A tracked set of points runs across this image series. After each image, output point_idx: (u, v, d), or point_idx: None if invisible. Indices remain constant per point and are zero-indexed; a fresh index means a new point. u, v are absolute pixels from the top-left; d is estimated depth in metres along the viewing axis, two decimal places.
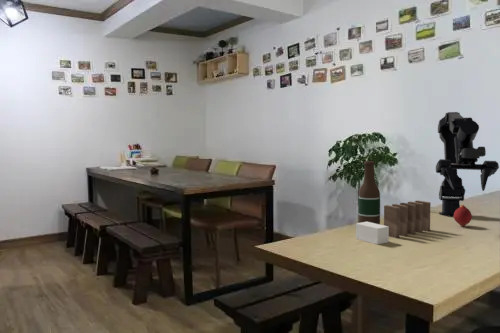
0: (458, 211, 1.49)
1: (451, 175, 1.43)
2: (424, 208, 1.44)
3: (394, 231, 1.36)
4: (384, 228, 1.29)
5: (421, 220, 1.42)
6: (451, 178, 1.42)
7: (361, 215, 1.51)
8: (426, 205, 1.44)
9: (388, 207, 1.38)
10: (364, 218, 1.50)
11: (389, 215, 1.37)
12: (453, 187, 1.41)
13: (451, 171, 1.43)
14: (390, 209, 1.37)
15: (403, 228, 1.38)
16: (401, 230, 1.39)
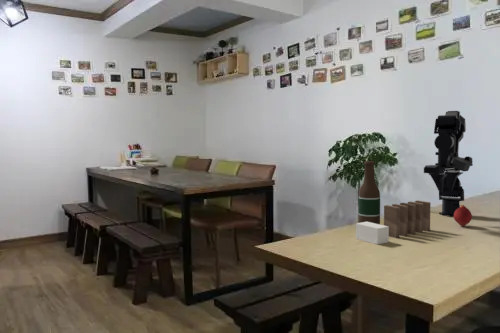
0: (458, 211, 1.49)
1: (443, 180, 1.51)
2: (424, 208, 1.44)
3: (394, 231, 1.36)
4: (384, 228, 1.29)
5: (421, 220, 1.42)
6: (442, 183, 1.51)
7: (361, 215, 1.51)
8: (426, 205, 1.44)
9: (388, 207, 1.38)
10: (364, 218, 1.50)
11: (389, 215, 1.37)
12: (441, 191, 1.52)
13: (444, 177, 1.51)
14: (390, 209, 1.37)
15: (403, 228, 1.38)
16: (401, 230, 1.39)
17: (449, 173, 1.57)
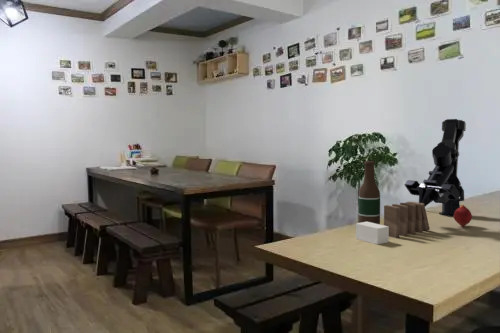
0: (458, 211, 1.49)
1: None
2: None
3: (394, 231, 1.36)
4: (384, 228, 1.29)
5: (420, 220, 1.42)
6: None
7: (361, 215, 1.51)
8: None
9: (388, 207, 1.38)
10: (364, 218, 1.50)
11: (389, 215, 1.37)
12: None
13: None
14: (390, 209, 1.37)
15: (403, 228, 1.38)
16: (401, 230, 1.39)
17: (425, 192, 1.47)
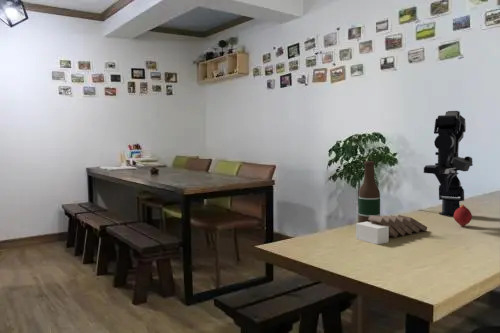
0: (458, 211, 1.49)
1: (447, 180, 1.53)
2: None
3: (391, 234, 1.35)
4: (384, 228, 1.29)
5: (412, 226, 1.40)
6: (447, 183, 1.53)
7: (361, 215, 1.51)
8: (410, 222, 1.40)
9: (373, 220, 1.34)
10: (364, 218, 1.50)
11: None
12: (446, 191, 1.54)
13: (449, 176, 1.52)
14: (375, 222, 1.34)
15: (399, 232, 1.37)
16: (398, 233, 1.38)
17: None
